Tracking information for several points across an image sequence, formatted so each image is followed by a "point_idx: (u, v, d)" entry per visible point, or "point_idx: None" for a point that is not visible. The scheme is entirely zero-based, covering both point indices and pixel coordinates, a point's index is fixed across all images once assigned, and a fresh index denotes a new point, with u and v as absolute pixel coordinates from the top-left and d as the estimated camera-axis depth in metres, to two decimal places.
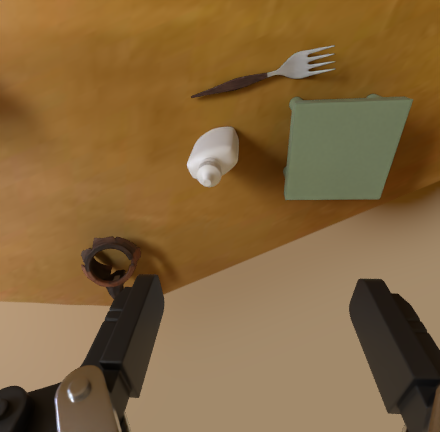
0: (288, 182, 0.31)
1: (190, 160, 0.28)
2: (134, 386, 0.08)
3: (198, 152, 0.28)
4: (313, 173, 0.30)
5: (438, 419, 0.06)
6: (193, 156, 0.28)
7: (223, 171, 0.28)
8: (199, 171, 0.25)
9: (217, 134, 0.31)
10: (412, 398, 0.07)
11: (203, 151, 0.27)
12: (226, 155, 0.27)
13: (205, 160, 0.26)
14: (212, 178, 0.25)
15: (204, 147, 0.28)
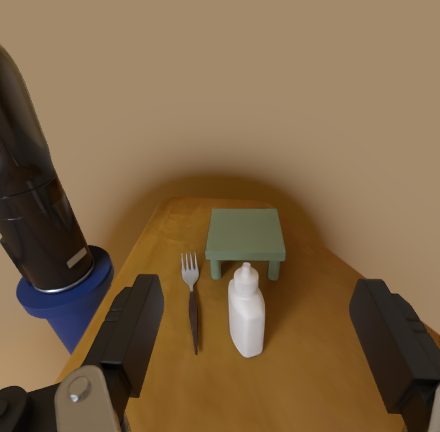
0: (268, 251, 0.36)
1: (242, 314, 0.26)
2: (134, 386, 0.08)
3: (234, 307, 0.27)
4: (258, 238, 0.38)
5: (438, 419, 0.06)
6: (238, 312, 0.26)
7: None
8: (240, 281, 0.25)
9: (229, 316, 0.31)
10: (412, 398, 0.07)
11: (232, 299, 0.27)
12: None
13: (235, 286, 0.27)
14: None
15: (231, 306, 0.28)
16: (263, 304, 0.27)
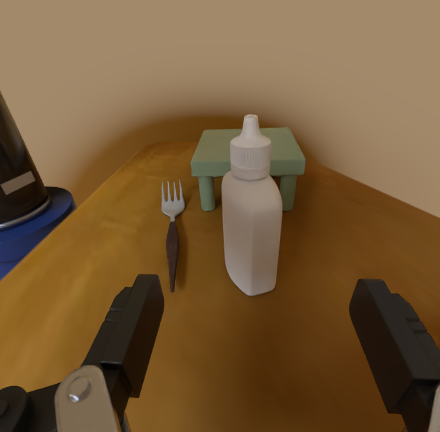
0: (280, 159, 0.25)
1: (243, 206, 0.15)
2: (134, 386, 0.08)
3: (230, 202, 0.16)
4: None
5: (438, 419, 0.06)
6: (237, 206, 0.16)
7: None
8: (241, 144, 0.15)
9: None
10: (412, 398, 0.07)
11: (227, 190, 0.17)
12: None
13: (231, 164, 0.16)
14: None
15: (226, 206, 0.17)
16: (279, 194, 0.16)
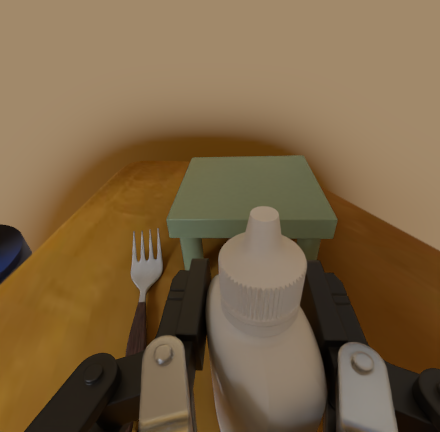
0: (298, 218, 0.17)
1: (246, 399, 0.07)
2: (200, 358, 0.09)
3: (220, 367, 0.08)
4: (276, 196, 0.19)
5: (344, 381, 0.07)
6: (233, 388, 0.08)
7: None
8: (241, 276, 0.07)
9: None
10: (326, 358, 0.08)
11: (213, 339, 0.08)
12: None
13: (222, 297, 0.08)
14: None
15: (212, 358, 0.09)
16: (319, 358, 0.08)
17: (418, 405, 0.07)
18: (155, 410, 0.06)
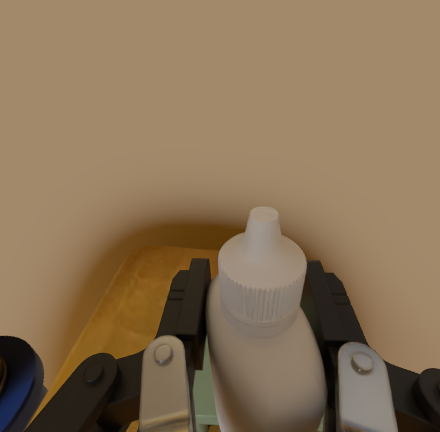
0: None
1: (246, 400, 0.07)
2: (201, 358, 0.09)
3: (219, 368, 0.08)
4: None
5: (344, 381, 0.07)
6: (232, 388, 0.08)
7: None
8: (241, 277, 0.07)
9: None
10: (326, 358, 0.08)
11: (213, 340, 0.08)
12: None
13: (222, 297, 0.08)
14: None
15: (212, 359, 0.09)
16: (319, 359, 0.08)
17: (418, 405, 0.07)
18: (155, 410, 0.06)
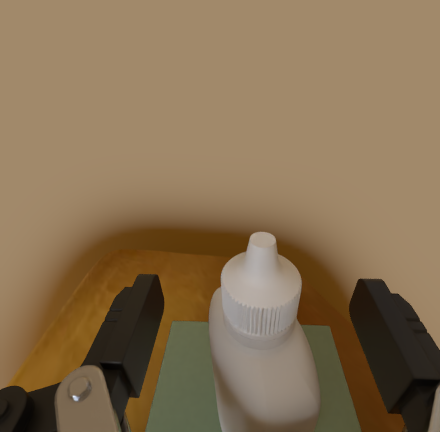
0: None
1: (245, 407, 0.08)
2: (134, 386, 0.08)
3: (222, 377, 0.09)
4: None
5: (438, 419, 0.06)
6: (233, 396, 0.08)
7: None
8: (241, 296, 0.07)
9: None
10: (412, 398, 0.07)
11: (216, 350, 0.09)
12: None
13: (224, 312, 0.08)
14: None
15: (215, 367, 0.10)
16: (314, 370, 0.08)
17: None
18: None
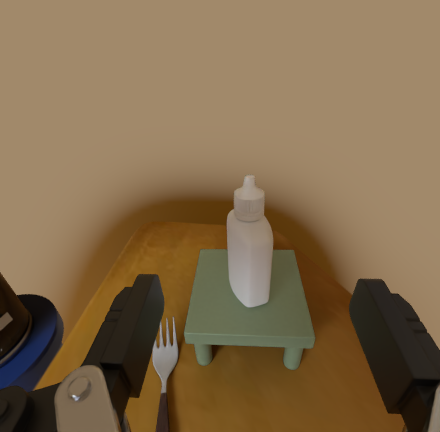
0: (285, 335, 0.22)
1: (243, 242, 0.20)
2: (134, 386, 0.08)
3: (234, 237, 0.21)
4: (269, 307, 0.24)
5: (438, 419, 0.06)
6: (239, 241, 0.21)
7: None
8: (242, 197, 0.20)
9: (228, 259, 0.25)
10: (412, 398, 0.07)
11: (231, 228, 0.22)
12: None
13: (235, 209, 0.21)
14: None
15: (230, 238, 0.22)
16: (270, 232, 0.21)
17: None
18: None
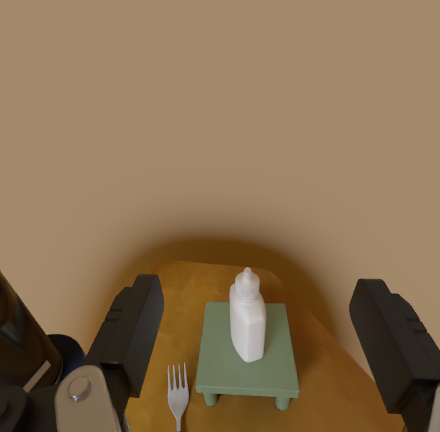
0: (276, 388, 0.28)
1: (243, 319, 0.26)
2: (134, 386, 0.08)
3: (235, 312, 0.27)
4: (263, 361, 0.30)
5: (438, 419, 0.06)
6: (239, 317, 0.27)
7: None
8: (241, 286, 0.25)
9: (230, 321, 0.31)
10: (412, 398, 0.07)
11: (233, 304, 0.27)
12: None
13: (236, 291, 0.27)
14: None
15: (232, 311, 0.28)
16: (264, 309, 0.27)
17: None
18: None
